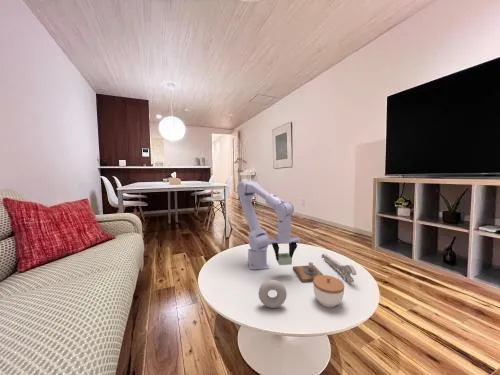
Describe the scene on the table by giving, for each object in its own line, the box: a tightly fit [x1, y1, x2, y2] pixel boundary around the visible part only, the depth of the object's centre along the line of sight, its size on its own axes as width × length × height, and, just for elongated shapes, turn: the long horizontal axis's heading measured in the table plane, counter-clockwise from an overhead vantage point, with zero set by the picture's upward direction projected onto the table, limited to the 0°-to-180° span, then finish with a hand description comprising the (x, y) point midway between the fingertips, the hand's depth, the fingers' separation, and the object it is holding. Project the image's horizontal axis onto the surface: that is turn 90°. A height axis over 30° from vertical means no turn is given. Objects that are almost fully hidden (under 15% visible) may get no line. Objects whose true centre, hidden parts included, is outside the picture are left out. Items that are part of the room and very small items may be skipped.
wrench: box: [321, 253, 357, 283], centre depth 102 cm, size 8×2×30 cm
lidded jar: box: [312, 274, 345, 308], centre depth 78 cm, size 11×11×9 cm
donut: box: [258, 279, 288, 309], centre depth 75 cm, size 10×4×10 cm, turn 88°
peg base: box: [292, 261, 324, 283], centre depth 98 cm, size 11×12×6 cm
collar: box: [275, 252, 293, 266], centre depth 96 cm, size 6×6×3 cm
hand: (283, 258), depth 96 cm, fingers closed on collar, 6 cm apart
